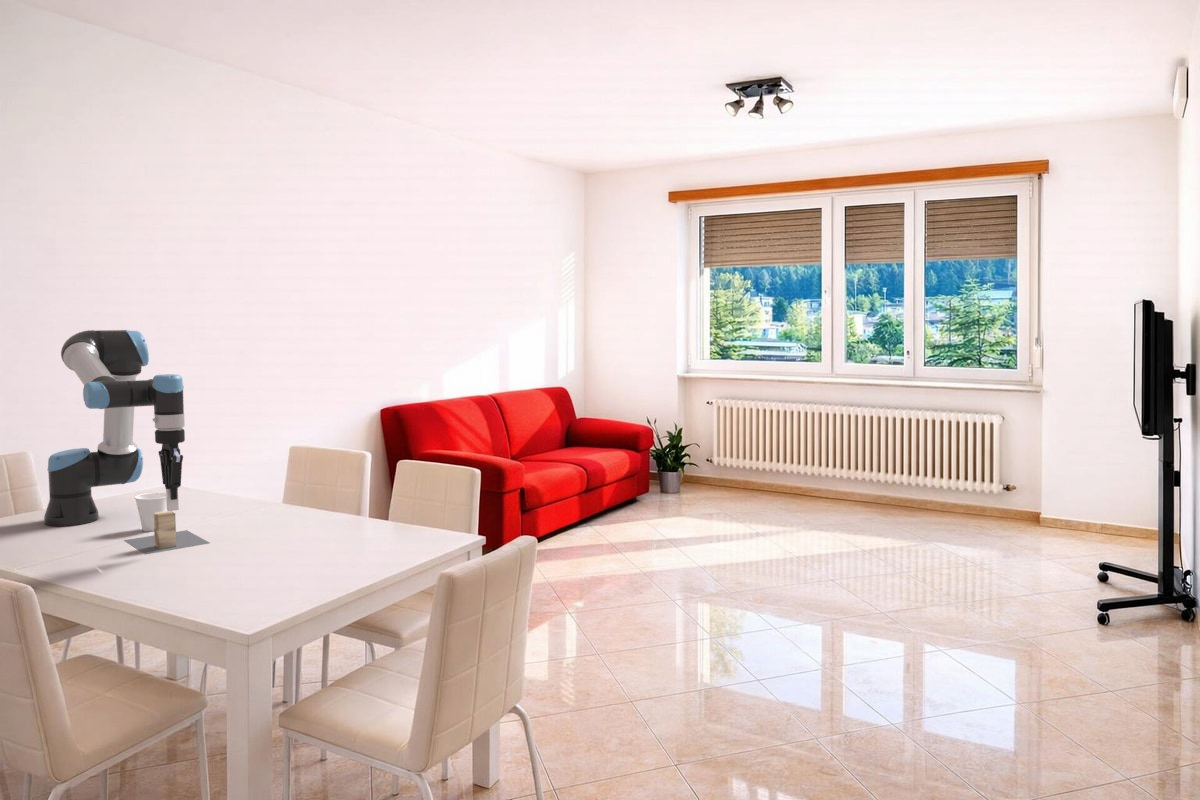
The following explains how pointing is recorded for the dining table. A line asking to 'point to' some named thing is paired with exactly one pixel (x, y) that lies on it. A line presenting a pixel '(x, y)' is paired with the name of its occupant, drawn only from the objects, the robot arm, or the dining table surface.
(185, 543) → the mat
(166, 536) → the beech block
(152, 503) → the cup
